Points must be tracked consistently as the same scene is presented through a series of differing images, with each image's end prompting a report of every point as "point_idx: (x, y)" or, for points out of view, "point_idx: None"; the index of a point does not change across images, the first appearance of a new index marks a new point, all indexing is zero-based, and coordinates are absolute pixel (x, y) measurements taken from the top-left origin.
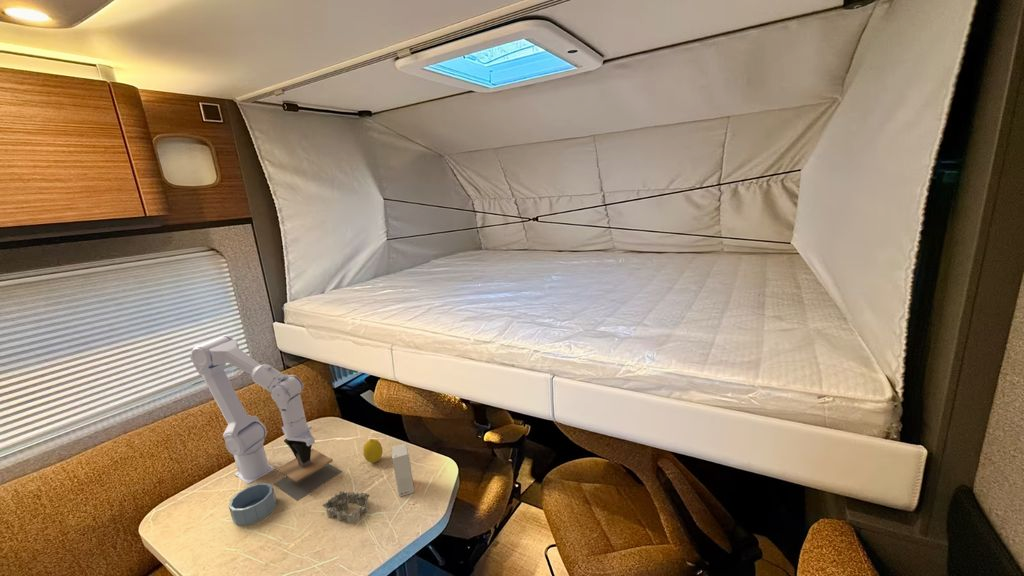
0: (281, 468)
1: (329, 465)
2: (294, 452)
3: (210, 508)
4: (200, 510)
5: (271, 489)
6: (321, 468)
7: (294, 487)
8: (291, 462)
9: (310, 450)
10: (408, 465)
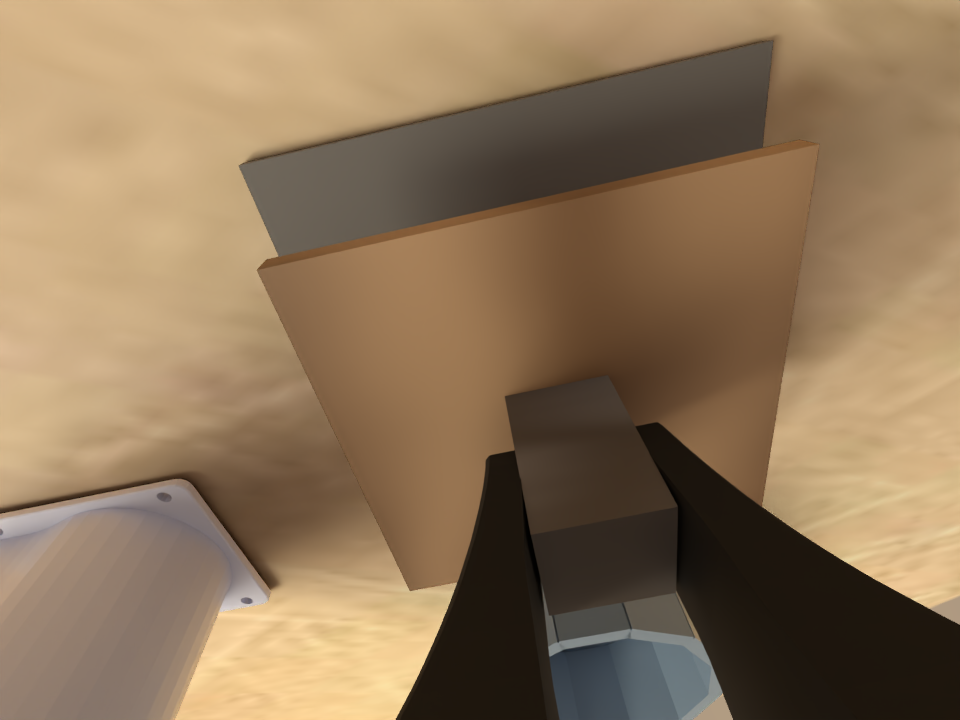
0: (434, 570)
1: (521, 117)
2: (546, 643)
3: (357, 688)
4: (339, 707)
5: (660, 635)
6: (500, 206)
7: None
8: (400, 503)
9: (771, 518)
10: None
